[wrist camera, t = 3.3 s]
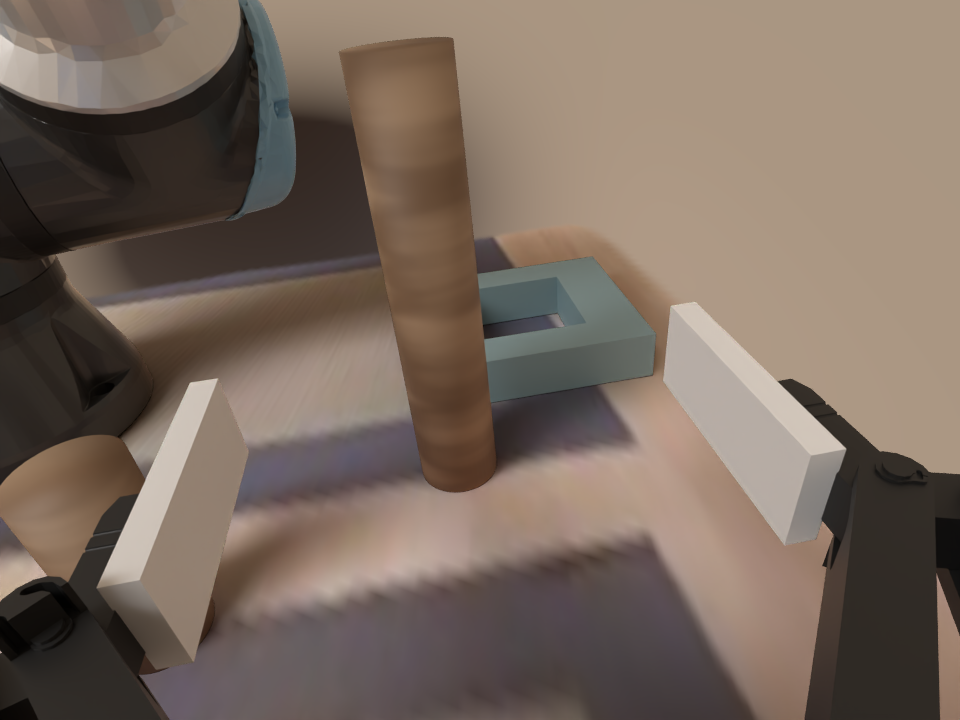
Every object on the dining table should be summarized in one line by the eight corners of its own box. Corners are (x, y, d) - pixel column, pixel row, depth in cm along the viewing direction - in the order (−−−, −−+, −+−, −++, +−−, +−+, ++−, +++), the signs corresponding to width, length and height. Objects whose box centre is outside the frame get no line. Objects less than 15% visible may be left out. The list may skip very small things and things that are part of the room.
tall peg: (408, 464, 32) (319, 52, 21) (466, 430, 34) (412, 37, 23) (452, 504, 29) (376, 55, 18) (512, 465, 31) (476, 37, 20)
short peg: (105, 624, 25) (-11, 472, 20) (198, 570, 27) (114, 420, 22) (125, 696, 22) (-3, 541, 18) (227, 630, 24) (139, 474, 19)
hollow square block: (652, 375, 36) (656, 333, 35) (430, 412, 35) (423, 372, 34) (591, 291, 46) (592, 256, 45) (417, 318, 45) (411, 283, 44)
